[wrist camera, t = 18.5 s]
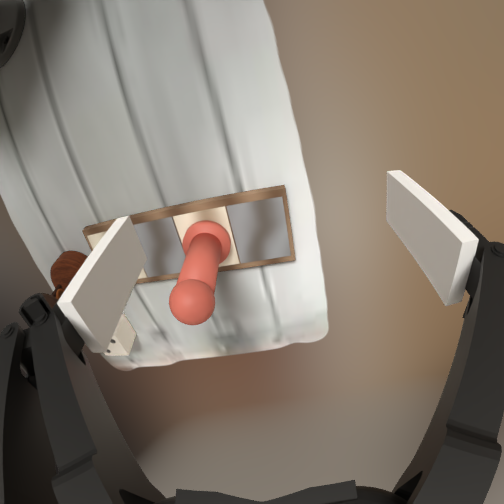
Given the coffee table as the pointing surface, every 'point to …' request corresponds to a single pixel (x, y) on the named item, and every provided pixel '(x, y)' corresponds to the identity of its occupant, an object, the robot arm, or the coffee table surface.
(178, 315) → the pawn
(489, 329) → the robot arm
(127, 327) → the die
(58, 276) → the music box
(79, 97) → the coffee table surface
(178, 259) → the board
